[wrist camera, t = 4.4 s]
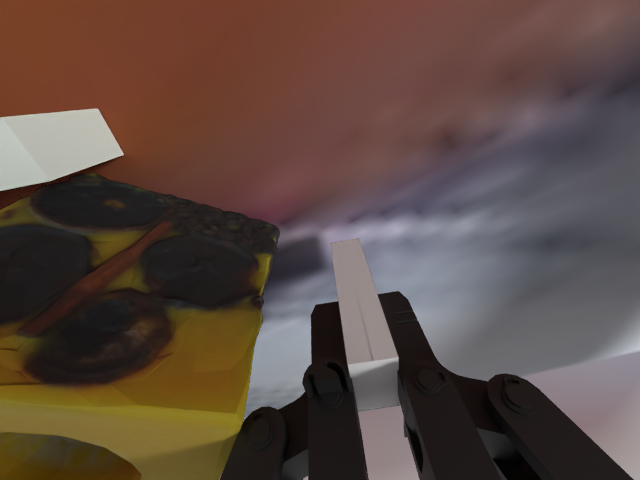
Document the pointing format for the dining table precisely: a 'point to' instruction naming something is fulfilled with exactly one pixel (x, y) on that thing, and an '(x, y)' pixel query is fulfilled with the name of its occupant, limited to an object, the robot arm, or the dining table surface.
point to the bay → (52, 146)
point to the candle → (125, 332)
